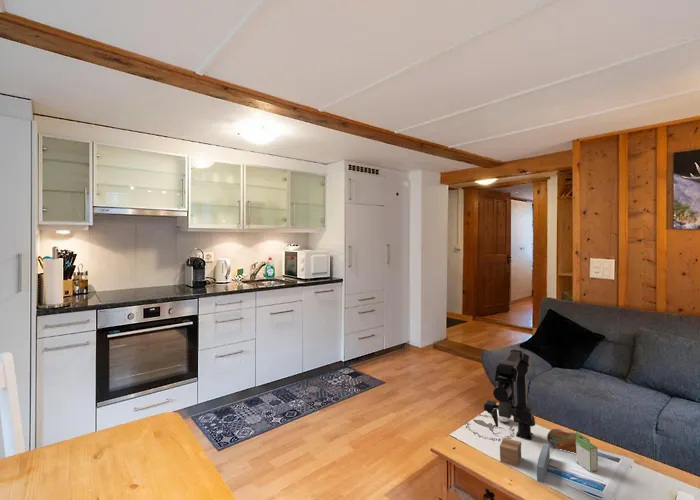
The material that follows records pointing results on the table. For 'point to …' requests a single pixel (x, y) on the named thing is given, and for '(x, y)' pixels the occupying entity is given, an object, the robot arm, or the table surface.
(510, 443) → the walnut block
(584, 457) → the ink box
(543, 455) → the slate board
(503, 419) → the geometric ball
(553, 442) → the tin
